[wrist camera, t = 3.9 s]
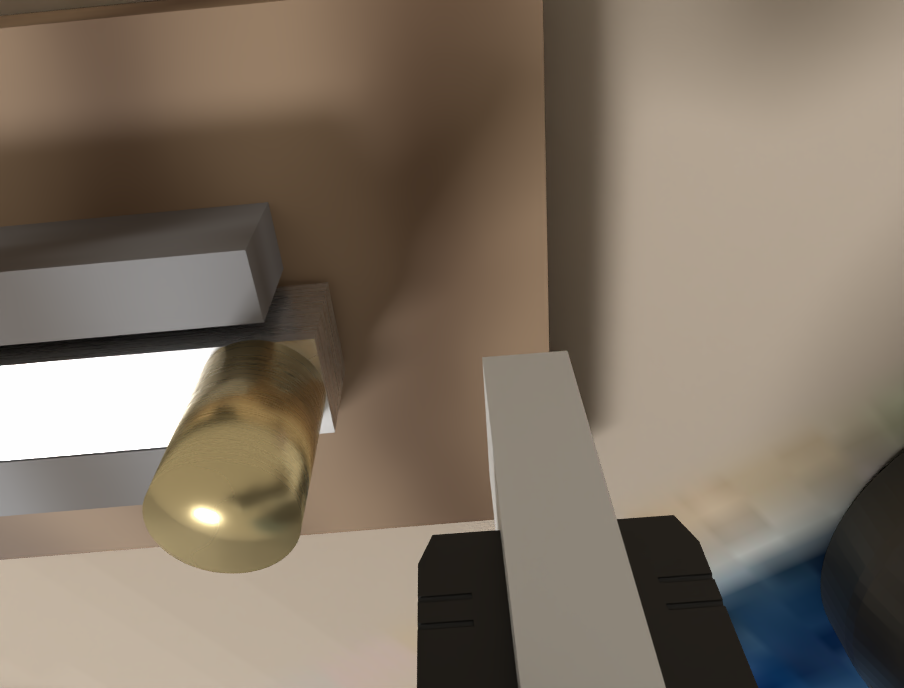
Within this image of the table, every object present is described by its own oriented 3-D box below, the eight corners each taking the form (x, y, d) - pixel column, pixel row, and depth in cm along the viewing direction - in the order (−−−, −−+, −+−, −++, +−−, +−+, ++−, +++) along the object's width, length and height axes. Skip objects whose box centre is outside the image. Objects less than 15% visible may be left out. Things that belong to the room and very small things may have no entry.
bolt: (327, 278, 17) (283, 455, 12) (345, 373, 18) (314, 567, 13) (-194, 324, 17) (-456, 516, 12) (-136, 414, 18) (-350, 620, 13)
